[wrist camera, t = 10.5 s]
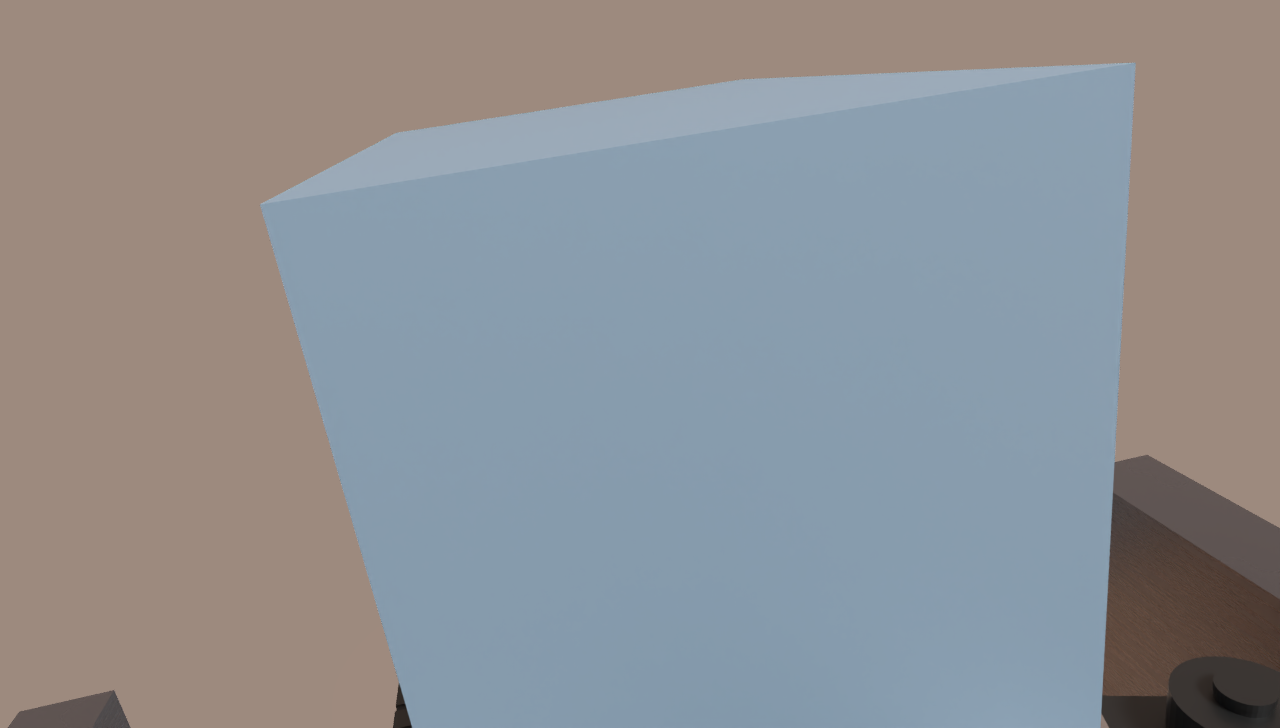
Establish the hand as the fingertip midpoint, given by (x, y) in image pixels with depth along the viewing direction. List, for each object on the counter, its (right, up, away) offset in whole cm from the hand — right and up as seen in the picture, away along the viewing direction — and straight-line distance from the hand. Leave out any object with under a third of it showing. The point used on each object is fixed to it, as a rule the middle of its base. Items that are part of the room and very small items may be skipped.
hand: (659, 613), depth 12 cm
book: (+2, -9, 0) cm, 9 cm away
